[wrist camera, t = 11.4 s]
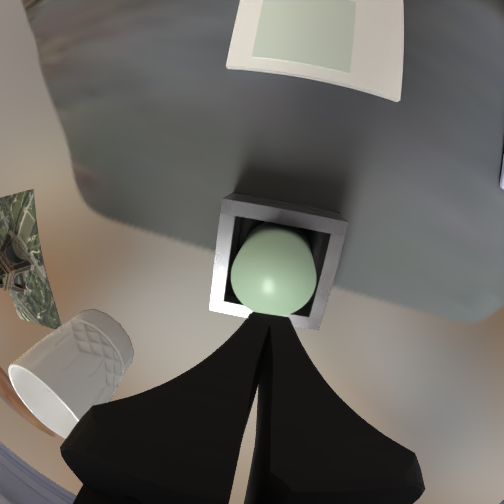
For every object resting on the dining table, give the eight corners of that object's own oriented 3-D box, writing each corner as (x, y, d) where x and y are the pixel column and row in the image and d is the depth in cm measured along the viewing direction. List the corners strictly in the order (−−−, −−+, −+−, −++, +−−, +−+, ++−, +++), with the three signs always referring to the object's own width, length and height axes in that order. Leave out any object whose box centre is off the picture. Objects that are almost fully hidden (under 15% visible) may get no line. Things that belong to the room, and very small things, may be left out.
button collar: (338, 212, 17) (348, 222, 15) (315, 307, 20) (318, 330, 17) (232, 192, 18) (222, 198, 15) (219, 289, 20) (209, 309, 17)
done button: (317, 228, 18) (325, 246, 14) (302, 291, 19) (305, 322, 15) (247, 215, 18) (237, 230, 14) (238, 279, 19) (226, 307, 15)
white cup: (61, 316, 23) (-2, 370, 14) (104, 290, 22) (26, 356, 12) (106, 376, 25) (58, 441, 16) (156, 362, 23) (106, 445, 14)
